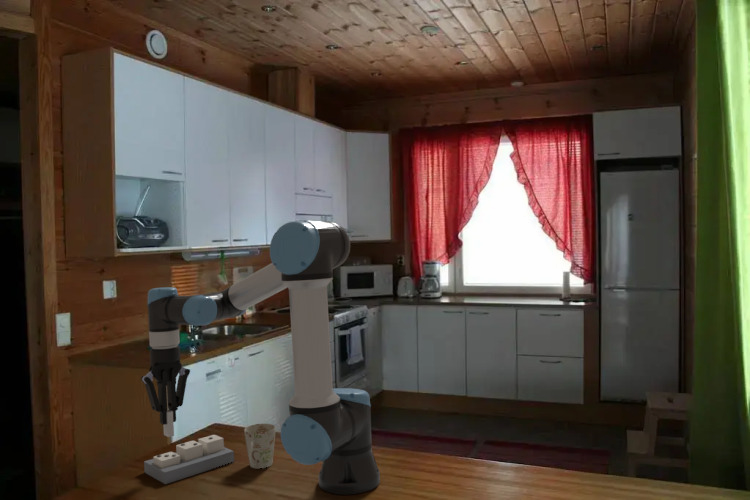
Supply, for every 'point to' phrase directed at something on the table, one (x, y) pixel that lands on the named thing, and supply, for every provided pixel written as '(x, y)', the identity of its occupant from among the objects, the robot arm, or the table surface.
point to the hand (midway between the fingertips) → (168, 435)
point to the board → (189, 466)
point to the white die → (189, 450)
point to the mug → (260, 444)
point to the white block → (211, 444)
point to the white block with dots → (166, 460)
